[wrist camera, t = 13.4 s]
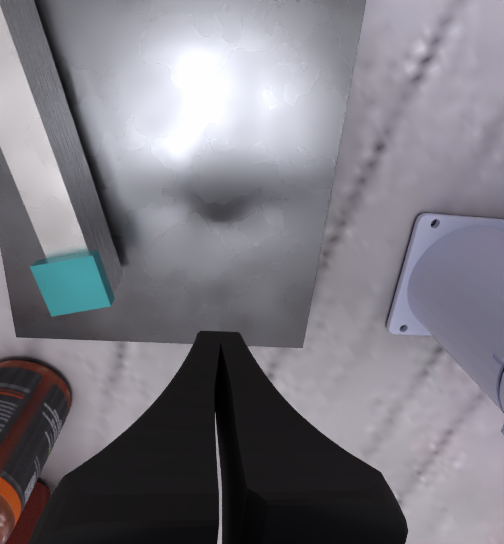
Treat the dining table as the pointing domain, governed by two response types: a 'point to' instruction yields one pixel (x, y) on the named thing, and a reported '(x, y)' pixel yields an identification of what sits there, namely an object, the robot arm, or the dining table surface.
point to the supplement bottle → (26, 432)
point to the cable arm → (52, 170)
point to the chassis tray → (196, 162)
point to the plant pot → (30, 515)
